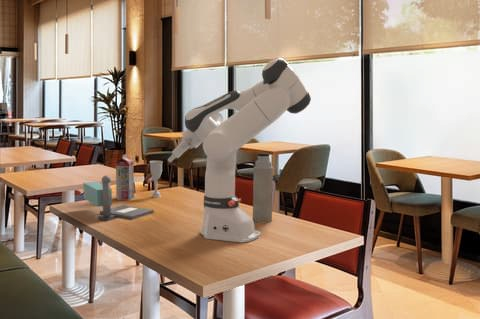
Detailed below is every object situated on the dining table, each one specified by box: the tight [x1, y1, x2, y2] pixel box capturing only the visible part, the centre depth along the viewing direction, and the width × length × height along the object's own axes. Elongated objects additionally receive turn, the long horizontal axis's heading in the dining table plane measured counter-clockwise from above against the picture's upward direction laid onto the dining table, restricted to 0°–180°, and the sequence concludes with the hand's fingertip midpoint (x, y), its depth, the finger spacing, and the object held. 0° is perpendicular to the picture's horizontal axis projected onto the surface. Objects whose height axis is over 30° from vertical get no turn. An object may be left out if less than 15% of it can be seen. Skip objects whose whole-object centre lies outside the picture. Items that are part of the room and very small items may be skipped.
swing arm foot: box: [97, 214, 117, 222], centre depth 197 cm, size 5×5×1 cm
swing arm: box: [82, 175, 113, 217], centre depth 204 cm, size 24×6×17 cm, turn 34°
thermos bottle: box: [252, 152, 274, 223], centre depth 198 cm, size 8×8×28 cm
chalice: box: [149, 160, 164, 199], centre depth 243 cm, size 7×7×18 cm
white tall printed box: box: [115, 153, 135, 201], centre depth 237 cm, size 7×7×22 cm
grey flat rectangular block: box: [99, 204, 155, 220], centre depth 207 cm, size 18×14×1 cm
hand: (169, 160), depth 207 cm, fingers closed
